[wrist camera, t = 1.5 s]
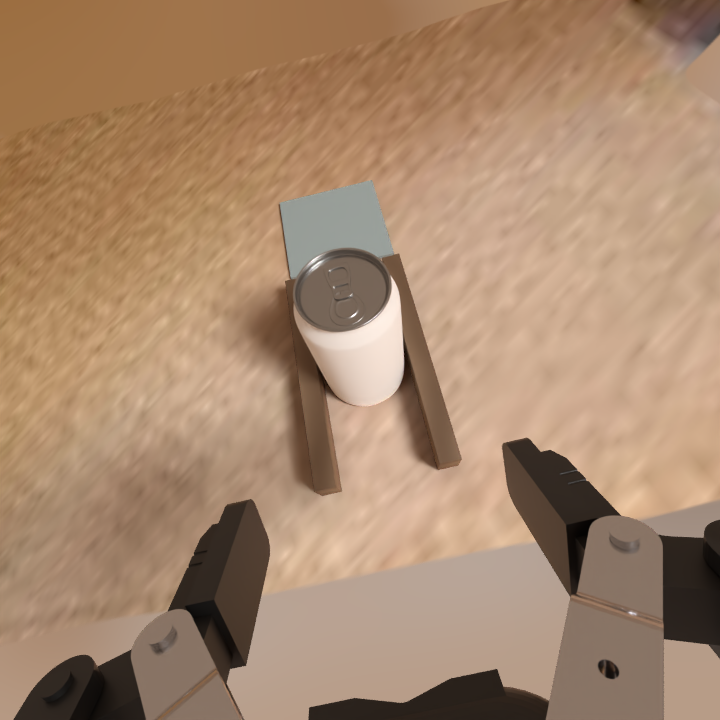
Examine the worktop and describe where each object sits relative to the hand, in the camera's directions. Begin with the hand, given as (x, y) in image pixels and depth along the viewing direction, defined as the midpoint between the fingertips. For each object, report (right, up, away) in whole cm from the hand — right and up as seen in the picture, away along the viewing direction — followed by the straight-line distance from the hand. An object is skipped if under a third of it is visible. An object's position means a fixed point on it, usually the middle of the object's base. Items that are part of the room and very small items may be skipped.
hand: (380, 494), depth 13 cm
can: (0, +3, +21) cm, 21 cm away
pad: (-3, +17, +27) cm, 33 cm away
